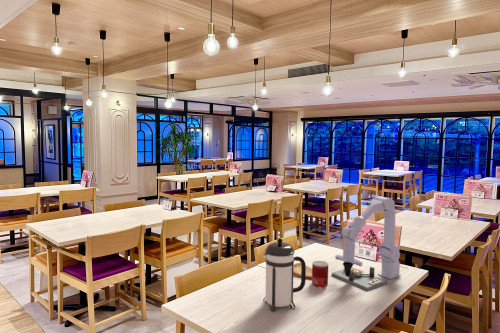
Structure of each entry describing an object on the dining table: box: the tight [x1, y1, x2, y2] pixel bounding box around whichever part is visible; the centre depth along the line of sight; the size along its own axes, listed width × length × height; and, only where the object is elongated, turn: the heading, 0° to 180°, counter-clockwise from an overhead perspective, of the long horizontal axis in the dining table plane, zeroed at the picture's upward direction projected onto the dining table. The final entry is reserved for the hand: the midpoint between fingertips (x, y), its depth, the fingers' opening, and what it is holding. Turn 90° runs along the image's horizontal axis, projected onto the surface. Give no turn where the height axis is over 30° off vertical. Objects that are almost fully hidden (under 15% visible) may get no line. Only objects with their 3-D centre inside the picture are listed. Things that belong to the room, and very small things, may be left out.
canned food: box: [311, 260, 329, 288], centre depth 175 cm, size 8×8×11 cm
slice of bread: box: [293, 262, 312, 281], centre depth 190 cm, size 18×18×4 cm
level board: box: [331, 266, 388, 292], centre depth 182 cm, size 16×23×4 cm
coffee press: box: [262, 237, 307, 313], centre depth 153 cm, size 17×16×30 cm
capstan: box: [343, 266, 375, 281], centre depth 181 cm, size 14×16×4 cm
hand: (348, 276), depth 178 cm, fingers closed, pressing on capstan
